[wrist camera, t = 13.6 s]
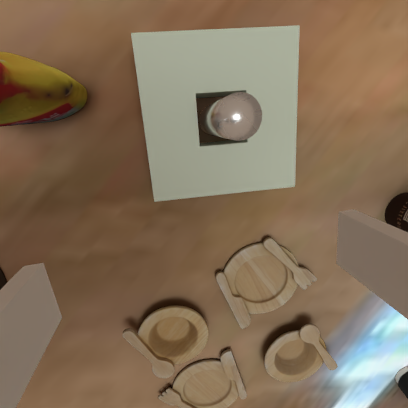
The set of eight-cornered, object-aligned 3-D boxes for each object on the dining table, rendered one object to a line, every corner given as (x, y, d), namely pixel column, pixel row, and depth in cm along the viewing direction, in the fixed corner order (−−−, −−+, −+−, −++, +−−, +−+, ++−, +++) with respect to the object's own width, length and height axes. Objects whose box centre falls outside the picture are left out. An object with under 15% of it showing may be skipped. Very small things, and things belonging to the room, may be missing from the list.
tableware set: (286, 220, 42) (298, 230, 38) (343, 340, 51) (357, 357, 47) (100, 324, 43) (94, 344, 40) (188, 423, 52) (190, 447, 49)
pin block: (156, 190, 38) (154, 201, 32) (137, 49, 32) (131, 32, 27) (276, 177, 39) (294, 186, 34) (277, 42, 34) (299, 25, 28)
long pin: (200, 136, 36) (218, 142, 23) (197, 105, 35) (215, 93, 22) (228, 133, 37) (262, 138, 23) (226, 103, 35) (261, 90, 22)
